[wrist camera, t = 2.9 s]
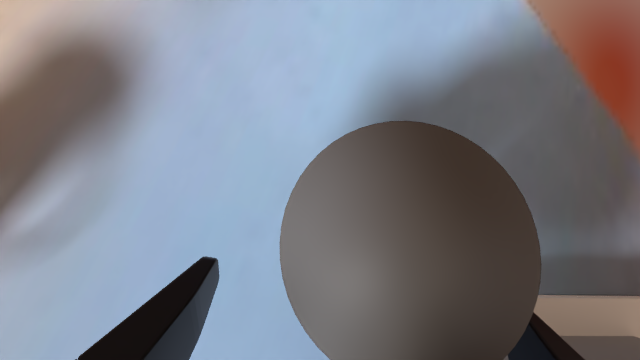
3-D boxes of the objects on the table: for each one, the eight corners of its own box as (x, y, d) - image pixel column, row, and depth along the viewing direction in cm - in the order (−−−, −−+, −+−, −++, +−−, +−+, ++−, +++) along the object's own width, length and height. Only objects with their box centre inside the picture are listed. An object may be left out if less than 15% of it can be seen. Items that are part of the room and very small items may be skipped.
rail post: (297, 280, 17) (273, 394, 4) (300, 203, 18) (285, 117, 5) (373, 281, 17) (560, 392, 5) (372, 205, 18) (523, 124, 6)
